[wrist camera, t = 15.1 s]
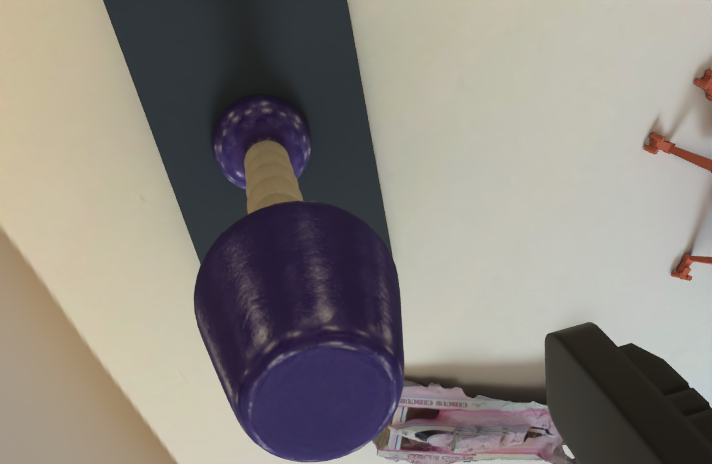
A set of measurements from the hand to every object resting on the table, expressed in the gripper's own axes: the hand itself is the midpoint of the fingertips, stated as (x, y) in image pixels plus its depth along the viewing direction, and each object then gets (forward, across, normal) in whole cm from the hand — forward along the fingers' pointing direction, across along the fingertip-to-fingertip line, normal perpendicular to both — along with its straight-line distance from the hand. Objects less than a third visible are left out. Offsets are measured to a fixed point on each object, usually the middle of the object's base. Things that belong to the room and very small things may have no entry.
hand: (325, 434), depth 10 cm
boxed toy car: (+18, -8, +20) cm, 28 cm away
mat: (+18, 0, 0) cm, 18 cm away
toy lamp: (+17, 0, 0) cm, 17 cm away
